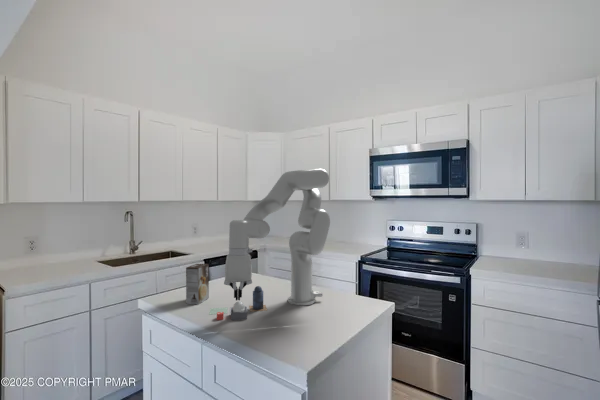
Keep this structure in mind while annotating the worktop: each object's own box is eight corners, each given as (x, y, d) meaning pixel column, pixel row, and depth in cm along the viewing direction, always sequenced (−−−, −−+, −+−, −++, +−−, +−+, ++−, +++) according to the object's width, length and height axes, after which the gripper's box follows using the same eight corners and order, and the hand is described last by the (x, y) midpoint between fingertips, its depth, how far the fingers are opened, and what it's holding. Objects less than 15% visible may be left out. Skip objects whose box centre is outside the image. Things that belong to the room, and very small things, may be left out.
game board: (265, 305, 132) (265, 298, 132) (269, 318, 117) (269, 310, 117) (210, 309, 127) (210, 302, 127) (207, 323, 113) (207, 314, 113)
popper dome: (244, 312, 121) (244, 299, 121) (244, 316, 116) (244, 303, 116) (233, 313, 120) (233, 300, 120) (233, 317, 115) (233, 303, 115)
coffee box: (196, 297, 143) (196, 263, 143) (209, 298, 142) (209, 263, 142) (185, 303, 134) (185, 267, 134) (198, 304, 133) (199, 267, 133)
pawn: (262, 305, 130) (262, 284, 130) (263, 309, 126) (263, 287, 126) (252, 306, 129) (252, 285, 129) (253, 310, 125) (253, 287, 125)
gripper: (257, 250, 123) (256, 295, 123) (219, 250, 120) (218, 297, 120) (258, 253, 116) (257, 301, 116) (218, 253, 113) (217, 303, 112)
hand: (237, 299), depth 118 cm, fingers closed
